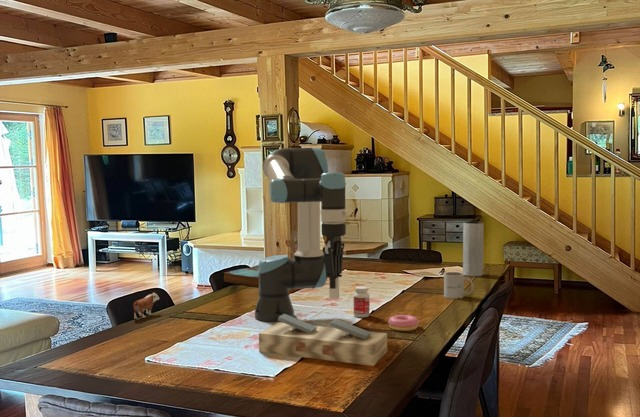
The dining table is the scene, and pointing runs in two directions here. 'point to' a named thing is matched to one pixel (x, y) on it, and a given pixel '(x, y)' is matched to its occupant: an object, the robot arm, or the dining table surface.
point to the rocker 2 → (350, 329)
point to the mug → (455, 285)
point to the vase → (473, 248)
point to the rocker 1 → (297, 323)
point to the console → (323, 344)
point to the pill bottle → (361, 302)
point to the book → (243, 277)
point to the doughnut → (403, 322)
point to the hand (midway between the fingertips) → (334, 298)
